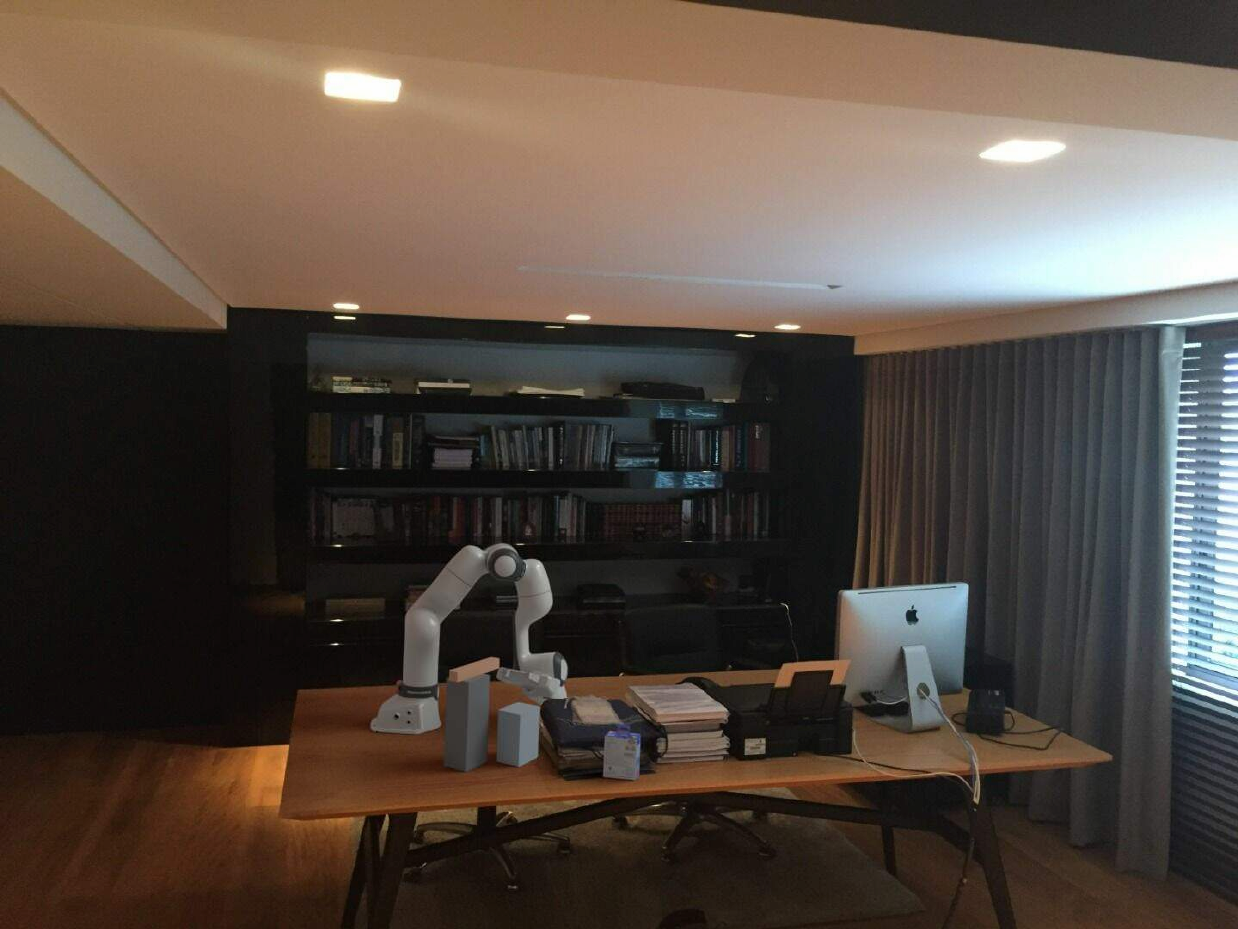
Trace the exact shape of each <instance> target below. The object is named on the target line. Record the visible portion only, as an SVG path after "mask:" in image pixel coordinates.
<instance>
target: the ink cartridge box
mask: <svg viewBox="0 0 1238 929" xmlns="http://www.w3.org/2000/svg"><path fill="white" fill-rule="evenodd" d="M621 728H625V729H626V730H625V729H624V730H623V729H621ZM616 729H617V730H616V731H611V730H609V731H607V733H606V734H605V735H604V744H603V745H604V746H603V747H604V748H603V768H602V769H603V770H602V771H603V772H602V777H603V778H613V779H619V780H627V781H628V780H629V781H636V780H637V779H638V777H639V776H640V762H641V761H640V758H641V757H640V756H641V736H642V735H641V733H634V732H630V731H631V725H625V724H618V725H617V728H616Z"/></svg>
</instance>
